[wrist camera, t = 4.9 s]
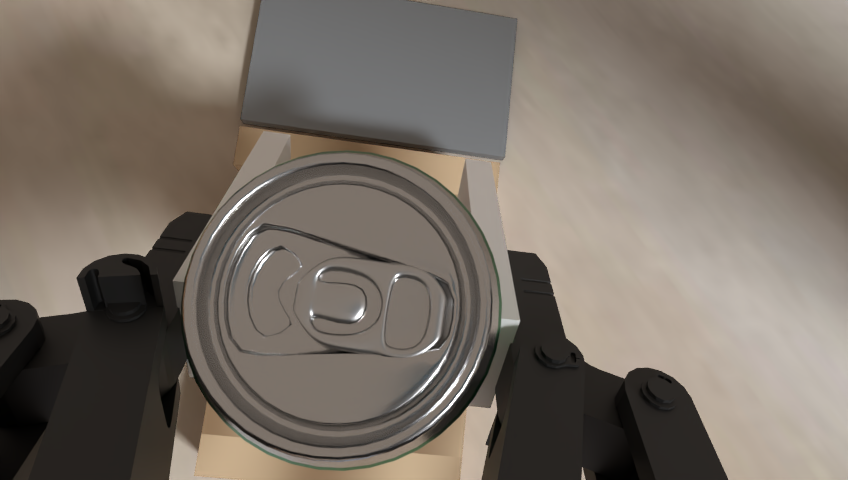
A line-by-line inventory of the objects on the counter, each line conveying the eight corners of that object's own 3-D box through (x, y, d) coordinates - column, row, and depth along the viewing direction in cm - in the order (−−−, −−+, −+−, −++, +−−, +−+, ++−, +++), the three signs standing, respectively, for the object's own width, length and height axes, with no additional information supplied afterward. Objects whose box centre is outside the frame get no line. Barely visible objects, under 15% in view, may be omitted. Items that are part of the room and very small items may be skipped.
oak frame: (478, 188, 25) (499, 162, 21) (450, 482, 23) (468, 516, 19) (260, 158, 24) (239, 125, 20) (209, 462, 22) (175, 492, 18)
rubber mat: (514, 24, 26) (517, 18, 26) (502, 160, 25) (504, 156, 25) (267, -17, 25) (265, -24, 25) (243, 123, 24) (240, 119, 24)
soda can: (304, 234, 20) (195, 98, 8) (441, 255, 20) (539, 157, 8) (278, 376, 19) (110, 467, 7) (421, 396, 19) (497, 516, 7)
